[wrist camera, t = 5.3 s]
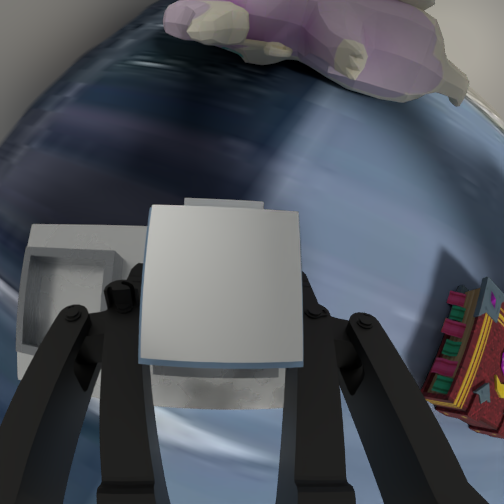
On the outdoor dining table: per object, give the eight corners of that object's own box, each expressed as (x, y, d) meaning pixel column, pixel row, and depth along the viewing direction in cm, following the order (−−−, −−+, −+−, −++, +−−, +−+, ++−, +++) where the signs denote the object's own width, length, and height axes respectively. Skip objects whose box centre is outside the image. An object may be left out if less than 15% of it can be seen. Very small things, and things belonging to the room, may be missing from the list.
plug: (247, 276, 20) (303, 178, 8) (247, 349, 18) (311, 369, 6) (186, 273, 19) (150, 169, 7) (183, 348, 18) (132, 366, 6)
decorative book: (486, 438, 19) (518, 443, 15) (403, 392, 20) (442, 399, 15) (519, 348, 23) (549, 344, 18) (449, 279, 24) (485, 266, 19)
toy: (397, 79, 37) (210, 38, 36) (427, -8, 24) (222, -59, 22) (482, 197, 20) (125, 121, 19) (564, 43, 6) (127, -100, 5)
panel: (286, 238, 22) (298, 221, 19) (288, 403, 19) (301, 413, 16) (39, 229, 20) (19, 214, 17) (26, 378, 16) (3, 381, 13)
